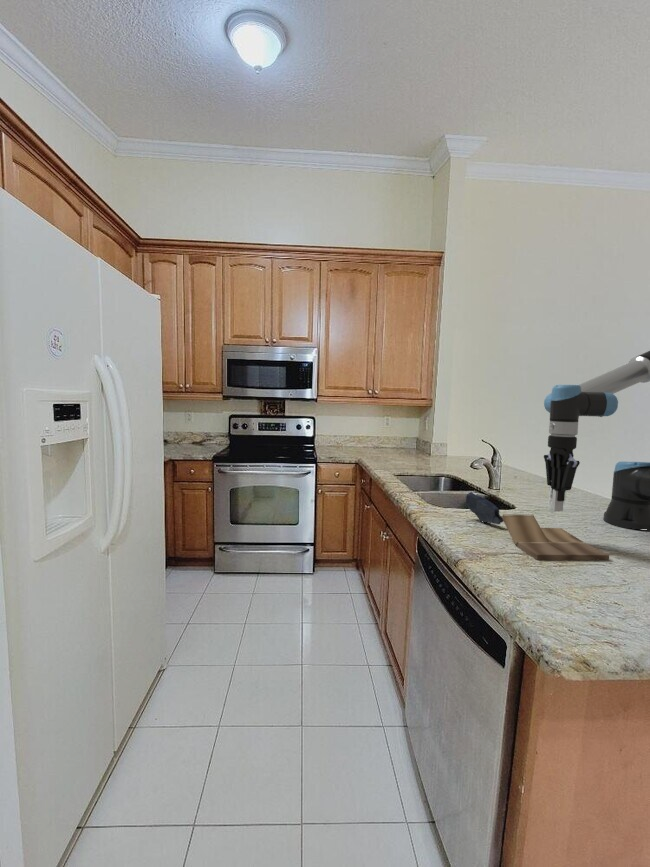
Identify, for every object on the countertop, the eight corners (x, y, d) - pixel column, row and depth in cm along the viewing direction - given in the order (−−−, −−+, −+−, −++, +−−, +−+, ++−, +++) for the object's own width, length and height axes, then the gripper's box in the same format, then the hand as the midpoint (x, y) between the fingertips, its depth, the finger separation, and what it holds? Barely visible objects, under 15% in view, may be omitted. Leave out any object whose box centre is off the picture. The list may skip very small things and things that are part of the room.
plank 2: (560, 532, 124) (560, 527, 124) (583, 546, 114) (583, 542, 114) (531, 531, 123) (532, 527, 123) (552, 546, 113) (552, 541, 113)
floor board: (584, 547, 114) (584, 542, 114) (608, 560, 105) (609, 554, 105) (517, 547, 112) (517, 541, 112) (536, 560, 103) (537, 554, 103)
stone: (506, 526, 131) (508, 497, 130) (501, 530, 127) (503, 500, 126) (466, 516, 140) (467, 490, 139) (459, 520, 135) (461, 493, 135)
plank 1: (531, 517, 122) (533, 514, 121) (546, 544, 114) (548, 541, 113) (501, 517, 121) (503, 514, 120) (515, 544, 113) (517, 541, 112)
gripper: (537, 433, 124) (532, 504, 126) (566, 437, 111) (560, 516, 113) (559, 433, 124) (554, 504, 126) (590, 437, 111) (583, 516, 113)
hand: (556, 510), depth 120 cm, fingers closed
